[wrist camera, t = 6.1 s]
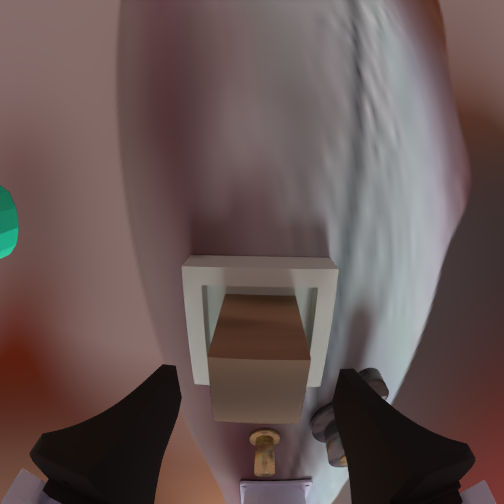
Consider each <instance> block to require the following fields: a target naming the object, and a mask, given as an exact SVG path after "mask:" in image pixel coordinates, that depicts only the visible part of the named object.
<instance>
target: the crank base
mask: <svg viewBox="0 0 504 504" xmlns="http://www.w3.org/2000/svg"><path fill="white" fill-rule="evenodd" d="M334 421H335V416H334V410H333V402H331V403H329V404H327V405H325V406H323V407H322V408H320V409H319V410H318V411H317V412H316V413H315V414H314V415H313V417H312V419H311V428H312V434H313V436H314V438H315V439H316V440H318V441H320V442H324V443H325V438H324V430H325V428H326V427H327V426H328V425H329V424H331V423H332V422H334ZM279 442H280V434H279V433H278V432H277V431H275V430H272V429H258V430H255V431H253V432H252V433H251V434H250V443H251V444H252V445H254V446H255V467H254V474H255V475H256V476H259V477H270V476H273V475H274V474H275V450H274V446H275V445H277V444H278V443H279Z"/></svg>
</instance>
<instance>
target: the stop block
mask: <svg viewBox="0 0 504 504" xmlns="http://www.w3.org/2000/svg"><path fill="white" fill-rule="evenodd" d="M207 362H208V373H209V384H210V394H211V404H212V413H213V421H222V422H236V423H262V424H288V423H299V421H300V417H301V412H302V407H303V402H304V397H305V392H306V386H307V381H308V375H309V370H310V364H311V357H310V353H309V349H308V344H307V340H306V336H305V332H304V328H303V324H302V320H301V316H300V312H299V308H298V304H297V300H296V296H288V295H247V294H225V296H224V300H223V303H222V307H221V310H220V313H219V317H218V320H217V324H216V327H215V331H214V334H213V338H212V341H211V345H210V349H209V352H208V356H207Z"/></svg>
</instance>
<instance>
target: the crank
mask: <svg viewBox="0 0 504 504" xmlns="http://www.w3.org/2000/svg"><path fill="white" fill-rule="evenodd" d="M358 374H359V375H360V376H361V377H362V378H363V379H364V380H365V381H366V382H367V383H368V384H369V386H370V387H371V388H372V389H373V390H374V391H375V392H377V393H378V394H379V395H380V396H381V397H382V398H383V399H384V400H386V399H387V397H388V395H389V390H388V388H387V386H386V384H385V382H384V380H383V378H382V376H381V374H380V372H379V371H378V370H377V369H375V368H367V369H364V370H361V371H360V372H358ZM324 438H325V443H326V449H327V454H328V460H329V464H330V465H331V466H334V467H347V466H348V465H347V460H346V456H345V453H344V449H343V446H342V442H341V439H340V435H339V432H338V428H337V425H336V421H334V422H332V423H331V424H329V425H328V426H327V427H326V428H325V430H324Z"/></svg>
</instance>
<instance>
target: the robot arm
mask: <svg viewBox="0 0 504 504" xmlns="http://www.w3.org/2000/svg"><path fill="white" fill-rule="evenodd" d="M181 399H182V397H181V392H180V386H179V381H178V376H177V370H176V366H173V365H165V364H163V365H162V366H160V367H159V368H158V369H157V370H156V371H155V372H154V373H153V374H152V375H151V376H150V377H148V378H147V379H146V380H145V381H144V382H143V383H142V384H141V385H139V386H138V387H137V388H136V389H135V390H134V391H133V392H131V393H130V394H129V395H128V396H126V397H125V398H124V399H122V400H121V401H120V402H119V403H117V404H115V405H114V406H112V407H111V408H109V409H108V410H106V411H104V412H102V413H101V414H99V415H97V416H95V417H93V418H91V419H88V420H86V421H84V422H82V423H79V424H77V425H74V426H71V427H68V428H65V429H61V430H57V431H53V432H49V433H43V434H42V435H41V437H40V438H39V440H38V441H37V443H36V444H35V446H34V447H33V449H32V450H31V452H30V457H31V459H32V461H33V462H34V463H35V464H36V465H37V466H38V468H39V469H40V470H41V471H42V472H43V473H44V474H45V475H46V476H47V477H48V479H49V480H48V481H47V483H45V482H44V481H43V480H41V479H40V478H38V477H37V476H35V475H33V474H31V473H30V472H28V471H27V470H25V469H21V471H20V472H19V474H18V476H17V477H16V479H15V480H14V482H13V484H12V486H11V487H10V489H9V490H8V492H7V494H6V496H5V497H4V499H3V501H2V504H154V500H155V493H156V487H157V482H158V476H159V472H160V467H161V463H162V459H163V455H164V452H165V450H166V447H167V444H168V441H169V439H170V436H171V433H172V431H173V428H174V425H175V422H176V419H177V417H178V413H179V408H180V403H181ZM332 402H333V410H334V416H335V421H336V425H337V428H338V432H339V435H340V439H341V442H342V446H343V449H344V453H345V456H346V460H347V465H348V472H349V479H350V489H351V499H352V500H351V501H352V504H496V502H495V500H494V498H493V496H492V494H491V492H490V490H489V488H488V486H487V484H486V482H485V481H482V482H480V483H478V484H476V485H474V486H472V487H471V488H469V489H467V490H465V491H464V492H462V493H461V494H459V491H458V489H459V488H460V487H461V485H460V483H459V480H460V479H461V478H462V477H463V476H464V475H465V474H466V473H467V472H468V471H469V470H470V468H471V467H472V466H473V464H474V462H475V456H474V455H473V453H472V451H471V449H470V448H469V446H468V444H466V443H462V442H459V441H455V440H451V439H448V438H446V437H443V436H441V435H438V434H436V433H434V432H431V431H429V430H427V429H426V428H424V427H422V426H420V425H418V424H416V423H415V422H413V421H411V420H410V419H408V418H407V417H405V416H404V415H402V414H401V413H400V412H398V411H397V410H396V409H394V408H393V407H392V406H391V405H390V404H389V403H387V402H386V401H385V400H384V399H383V398H382V397H381V396H380V395H379V394H378V393H377V392H375V391H374V390H373V389H372V388H371V387H370V386H369V384H368V383H367V382H366V381H365V380H364V379H363V378H362V377H361V376H360V375H359V374H358V373H357V372H356V371H355V370H354V369H340V373H339V377H338V381H337V385H336V389H335V393H334V397H333V400H332ZM312 484H313V482H312V480H295V481H241V482H240V493H241V504H306V500H305V499H306V497H307V495H308V492H309V490H310V488H311V486H312Z"/></svg>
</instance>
